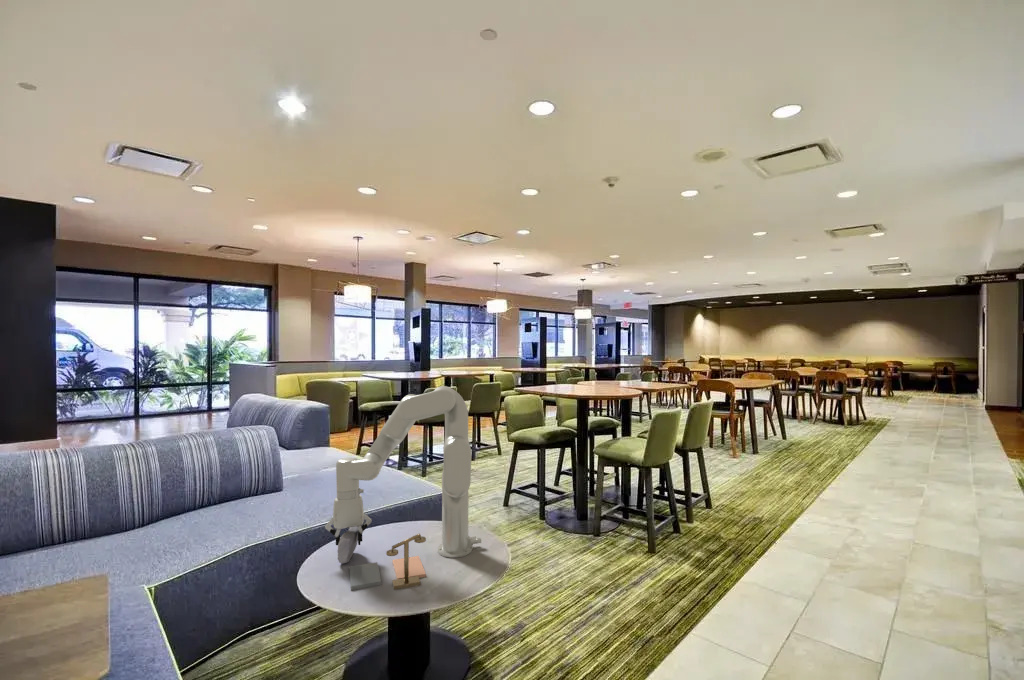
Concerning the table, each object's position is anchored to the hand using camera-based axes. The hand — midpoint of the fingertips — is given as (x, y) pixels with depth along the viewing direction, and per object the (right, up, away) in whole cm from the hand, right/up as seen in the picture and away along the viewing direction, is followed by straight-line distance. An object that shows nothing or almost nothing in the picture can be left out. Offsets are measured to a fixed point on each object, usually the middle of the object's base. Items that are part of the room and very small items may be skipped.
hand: (349, 544), depth 168 cm
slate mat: (+9, -5, -13) cm, 17 cm away
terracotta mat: (+23, -5, -8) cm, 25 cm away
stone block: (0, -5, 0) cm, 5 cm away
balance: (+24, -5, -18) cm, 30 cm away
